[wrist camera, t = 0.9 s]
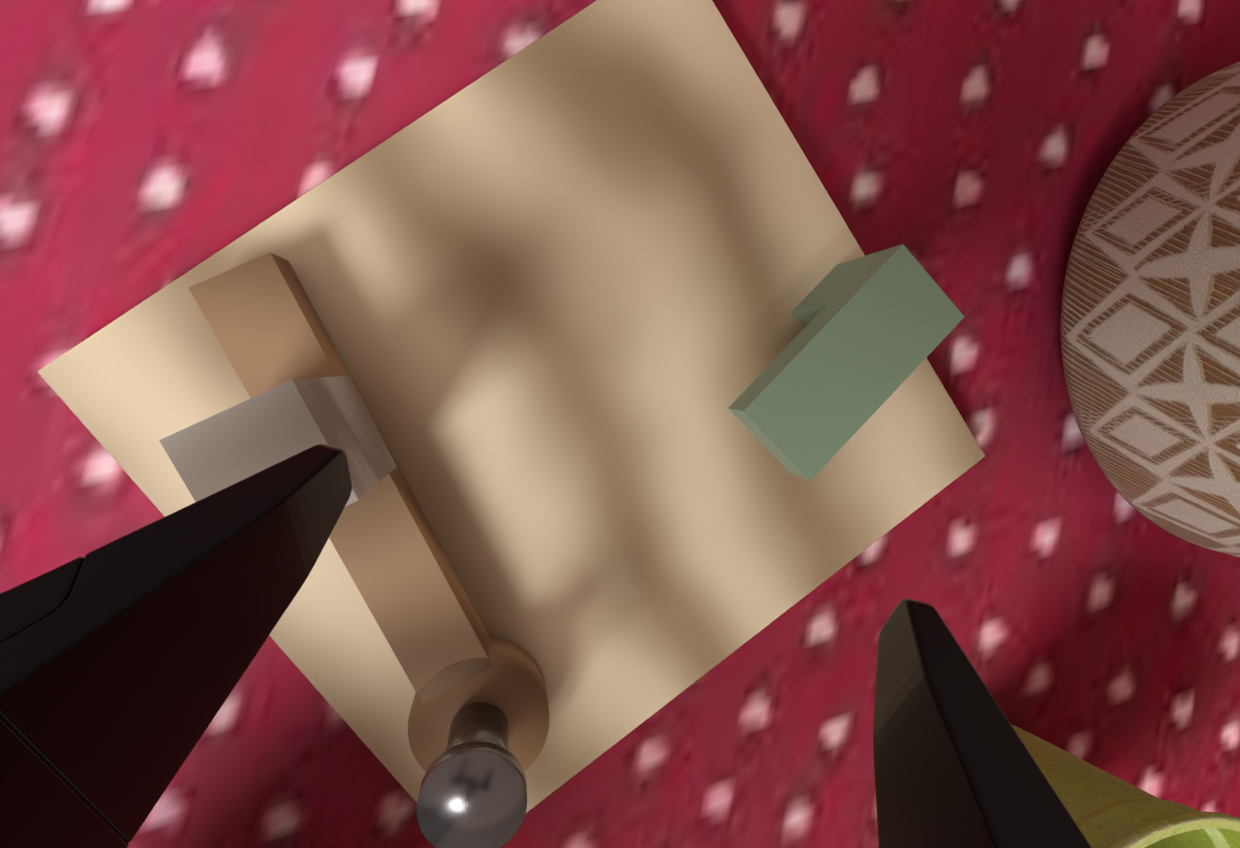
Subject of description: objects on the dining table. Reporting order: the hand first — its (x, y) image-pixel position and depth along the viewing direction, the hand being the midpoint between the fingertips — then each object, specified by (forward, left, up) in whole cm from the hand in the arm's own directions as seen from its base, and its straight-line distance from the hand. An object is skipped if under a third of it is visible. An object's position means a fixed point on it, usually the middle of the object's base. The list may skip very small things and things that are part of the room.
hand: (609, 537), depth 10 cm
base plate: (+1, 0, -13) cm, 13 cm away
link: (-6, +1, -12) cm, 13 cm away
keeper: (+9, -3, -13) cm, 16 cm away
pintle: (-7, -6, -10) cm, 13 cm away
